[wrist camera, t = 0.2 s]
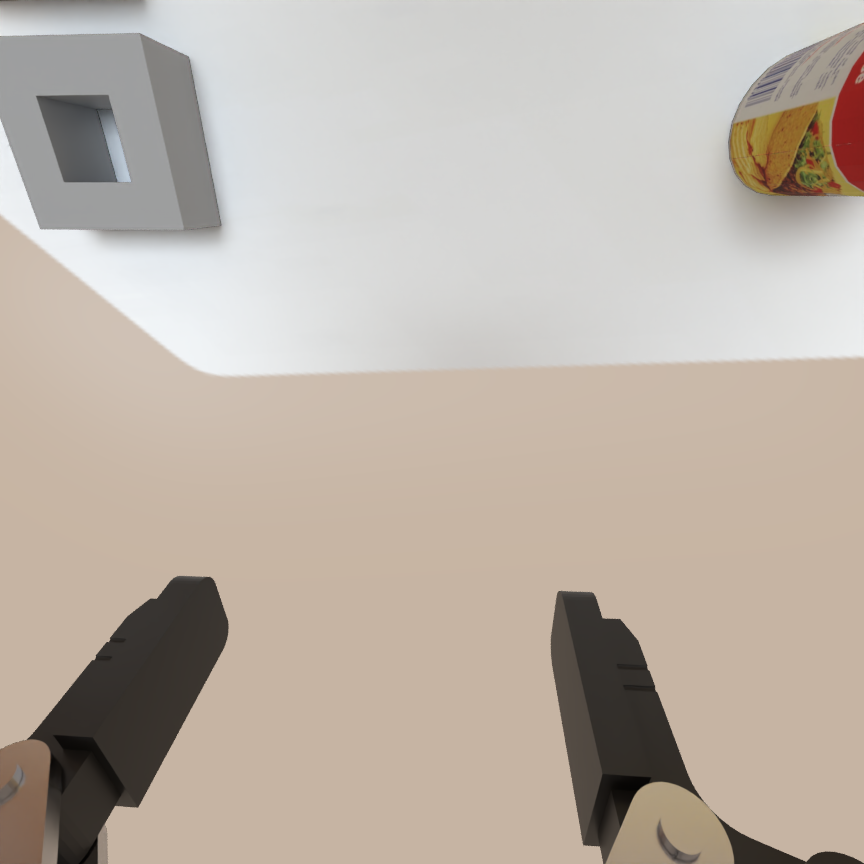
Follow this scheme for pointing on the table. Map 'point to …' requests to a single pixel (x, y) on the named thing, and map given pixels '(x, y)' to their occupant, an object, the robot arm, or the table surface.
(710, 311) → the table surface
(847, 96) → the canned food
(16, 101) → the dock
